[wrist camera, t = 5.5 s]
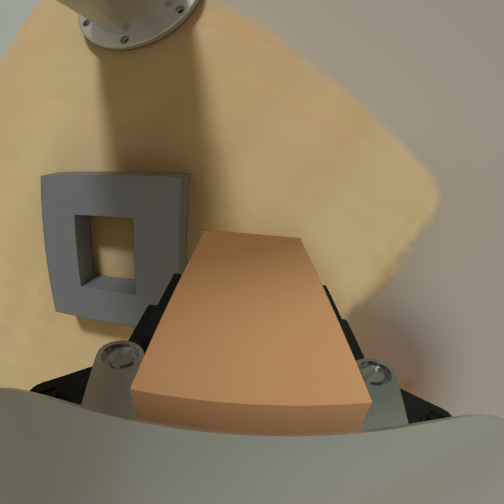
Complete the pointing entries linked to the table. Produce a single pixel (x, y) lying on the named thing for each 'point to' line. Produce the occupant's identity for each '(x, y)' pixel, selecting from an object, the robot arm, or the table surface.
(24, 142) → the table surface
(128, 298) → the socket plate
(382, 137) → the table surface
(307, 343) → the plug
